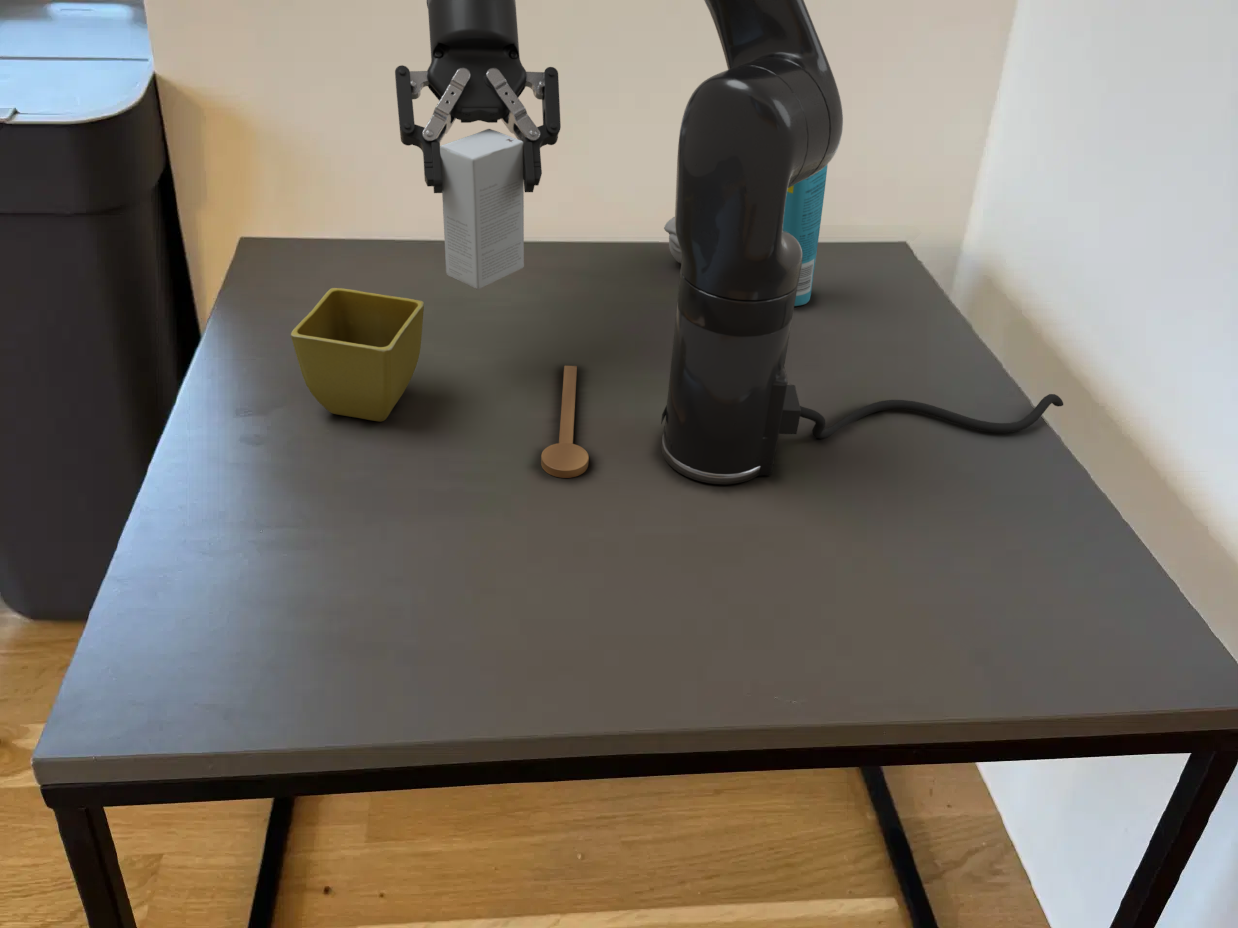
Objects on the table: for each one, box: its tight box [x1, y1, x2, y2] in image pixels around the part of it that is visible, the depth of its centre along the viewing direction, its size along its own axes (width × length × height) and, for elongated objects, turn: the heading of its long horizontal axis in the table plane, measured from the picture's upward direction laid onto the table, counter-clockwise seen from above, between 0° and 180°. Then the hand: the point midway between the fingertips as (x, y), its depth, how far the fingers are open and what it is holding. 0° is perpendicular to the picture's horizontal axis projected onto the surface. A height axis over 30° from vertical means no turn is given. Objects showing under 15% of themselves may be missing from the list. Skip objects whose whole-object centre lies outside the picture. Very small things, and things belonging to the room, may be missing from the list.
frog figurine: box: [663, 216, 682, 264], centre depth 124 cm, size 6×7×7 cm
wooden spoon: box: [540, 365, 590, 479], centre depth 99 cm, size 4×17×1 cm, turn 0°
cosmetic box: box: [440, 128, 525, 290], centre depth 96 cm, size 6×4×12 cm
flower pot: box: [290, 287, 425, 422], centre depth 96 cm, size 9×9×9 cm
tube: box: [783, 163, 829, 307], centre depth 115 cm, size 7×5×19 cm, turn 152°
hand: (484, 189), depth 93 cm, fingers closed on cosmetic box, 7 cm apart
